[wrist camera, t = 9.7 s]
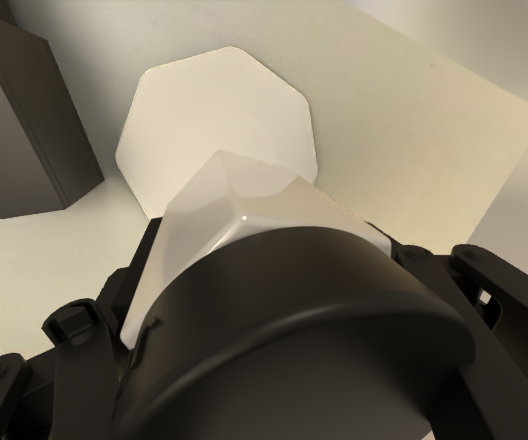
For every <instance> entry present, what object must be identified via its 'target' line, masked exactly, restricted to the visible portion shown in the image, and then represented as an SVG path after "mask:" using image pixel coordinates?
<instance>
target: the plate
mask: <svg viewBox="0 0 528 440" xmlns="http://www.w3.org/2000/svg"><path fill="white" fill-rule="evenodd" d="M217 150H222V151H226V152H230V153H234V154H238V155H242V156H245V157H249V158H253V159H257V160H261V161H265V162H269V163H273V164H277V165H281V166H284V167H288V168H289V169H291V170H292V171H294V172H295V173H296V174H298V175H299V176H301V177H302V178H304V179H305V180H306V181H308V182H309V183H311V184H313V183H314V181H315V179H316V178H317V173H318V165H317V159H316V152H315V145H314V138H313V131H312V124H311V117H310V111H309V104H308V102H307V100H306V99H305V97H304V95H302V94H301V93H300V92H298V91H297V90H296V89H294V88H293V87H292V86H290V85H289V84H288V83H286V82H285V81H284V80H282V79H281V78H280V77H278V76H277V75H276V74H274V73H273V72H272V71H270V70H269V69H268V68H266V67H265V66H264V65H262V64H261V63H260V62H258V61H257V60H256V59H254V58H253V57H252V56H250V55H249V54H248V53H246V52H245V51H244V50H242V49H241V48H236V47H232V46H229V47H225V48H222V49H218V50H214V51H211V52H207V53H204V54H200V55H196V56H193V57H189V58H185V59H182V60H178V61H175V62H171V63H167V64H164V65H160V66H156V67H153V68H149V69H148V70H147V71H146V72H145V73H144V74H143V75H142V76H141V77H140V80H139V83H138V86H137V89H136V92H135V95H134V98H133V101H132V104H131V107H130V110H129V113H128V116H127V119H126V122H125V125H124V128H123V130H122V133H121V136H120V139H119V142H118V145H117V148H116V151H115V160H116V164H117V166H118V168H119V170H120V171H121V173H122V175H123V176H124V178H125V180H126V182H127V183H128V185H129V187H130V188H131V190H132V192H133V194H134V195H135V197H136V199H137V200H138V202H139V204H140V206H141V207H142V209H143V211H144V212H145V214H146V216H147V218H148V219H149V221H150V220H151V219H152V218H158V217H163V215H164V213H165V210H166V207H167V204H168V203H169V202H170V201H171V200H172V199H173V198H174V197H175V195H176V194H177V193H178V192H179V191H180V190H181V189H182V188H183V187H184V186H185V185H186V183H187V182H188V181H189V180H190V179H191V178H192V177H193V176H194V175H195V174H196V172H197V171H198V170H199V169H200V168H201V167H202V166H203V165H204V164H205V163H206V161H207V160H208V159H209V158H210V157H211V156H212V155H213V154H214V153H215V152H216V151H217Z"/></svg>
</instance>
